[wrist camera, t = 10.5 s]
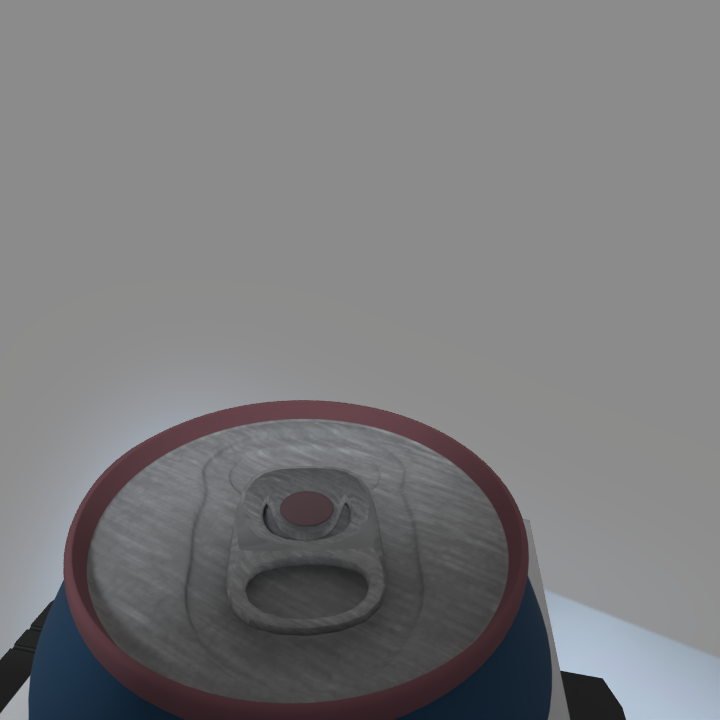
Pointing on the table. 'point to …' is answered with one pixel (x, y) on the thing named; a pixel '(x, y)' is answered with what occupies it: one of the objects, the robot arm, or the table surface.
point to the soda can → (295, 578)
